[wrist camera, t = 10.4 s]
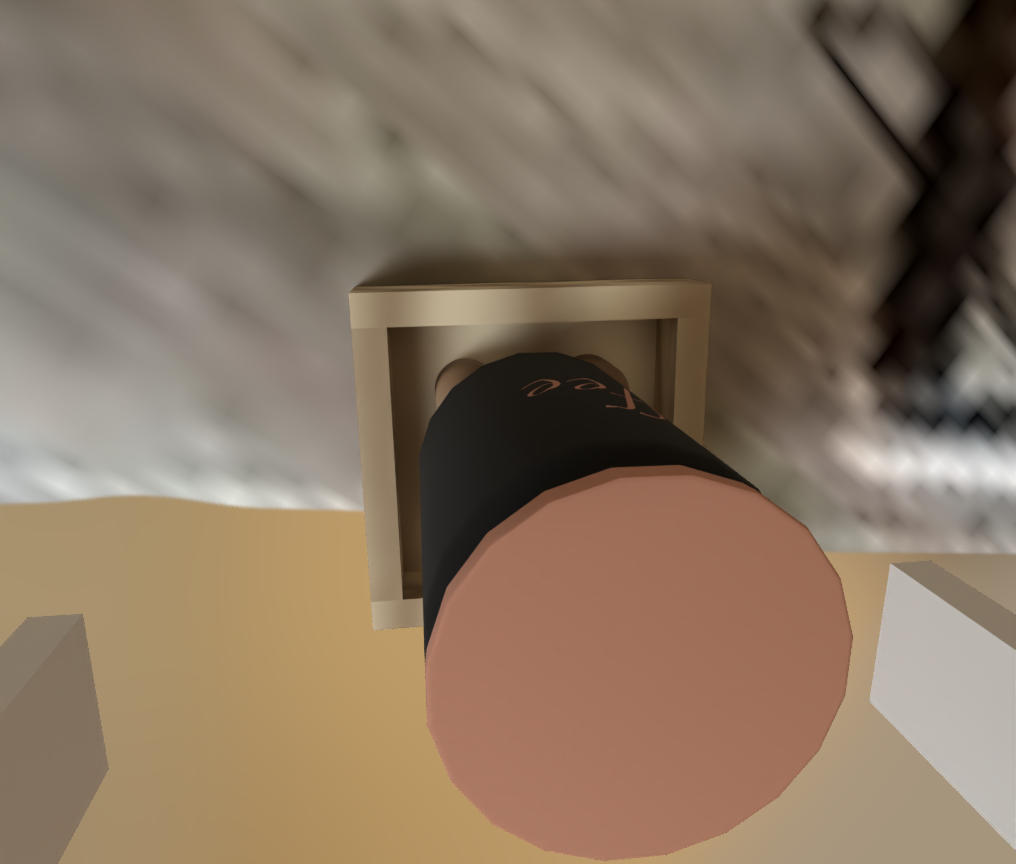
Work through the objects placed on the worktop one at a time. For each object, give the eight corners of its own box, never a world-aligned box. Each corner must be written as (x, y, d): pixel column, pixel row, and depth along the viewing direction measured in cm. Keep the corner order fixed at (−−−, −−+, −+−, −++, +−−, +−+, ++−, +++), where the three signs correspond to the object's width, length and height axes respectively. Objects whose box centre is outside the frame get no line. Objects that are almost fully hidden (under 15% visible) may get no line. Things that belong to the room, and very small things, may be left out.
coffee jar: (687, 453, 36) (936, 661, 19) (531, 604, 37) (632, 930, 20) (533, 296, 33) (662, 373, 16) (369, 465, 34) (325, 707, 17)
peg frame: (376, 595, 39) (373, 630, 36) (355, 286, 35) (348, 293, 32) (670, 573, 41) (694, 605, 38) (684, 277, 37) (711, 283, 34)
